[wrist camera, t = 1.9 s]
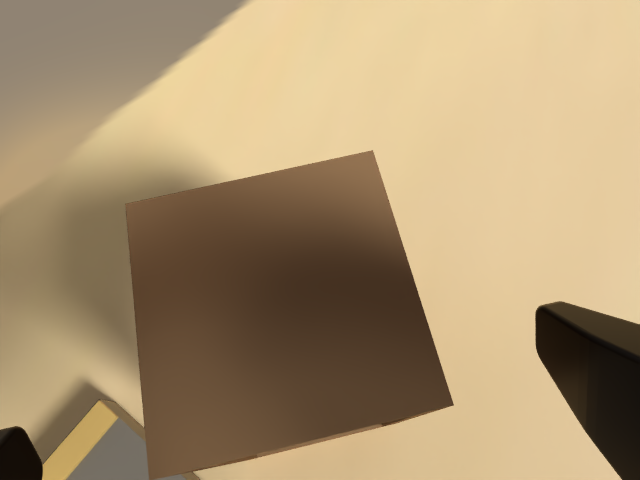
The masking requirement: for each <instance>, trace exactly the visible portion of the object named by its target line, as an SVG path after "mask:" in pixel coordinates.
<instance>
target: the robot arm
mask: <svg viewBox="0 0 640 480" xmlns="http://www.w3.org/2000/svg"><path fill="white" fill-rule="evenodd" d="M535 321H536V349H537V353H538V355H539V358H540V359H541V361H542V363H543V364H544V366H545V368H546V369H547V371H548V372H549V374H550V376H551V377H552V379H553V381H554V382H555V384H556V385H557V387H558V389H559V390H560V392H561V393H562V395H563V397H564V398H565V400H566V402H567V403H568V405H569V406H570V408H571V410H572V411H573V413H574V415H575V416H576V418H577V419H578V421H579V422H580V424H581V425H582V427H583V429H584V430H585V432H586V433H587V434H588V436H589V437H590V438H591V440H592V441H593V442H594V444H595V445H596V446H597V448H598V449H599V450H600V452H601V453H602V454H603V455H604V457H605V458H606V459H607V461H608V462H609V463H610V465H611V466H612V467H613V468H614V470H615V471H616V472H617V474H618V475H619V476H620V478H621V479H622V480H640V324H636V323H633V322H630V321H626V320H623V319H619V318H616V317H613V316H609V315H606V314H603V313H599V312H596V311H592V310H589V309H586V308H582V307H579V306H575V305H572V304H569V303H565V302H561V301H558V302H554V303H549V304H545V305H541V306H539V307H538V308H537V310H536V315H535ZM42 477H43V466H42V462H41V459H40V457H39V455H38V454H37V452H36V450H35V448H34V446H33V444H32V442H31V441H30V439H29V437H28V435H27V433H26V432H25V430H24V429H23V428H21V427H18V426H15V427H10V428H6V429H1V430H0V480H42Z"/></svg>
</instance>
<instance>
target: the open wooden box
mask: <svg viewBox="0 0 640 480" xmlns="http://www.w3.org/2000/svg"><path fill="white" fill-rule="evenodd" d="M126 216H127V227H128V239H129V251H130V263H131V274H132V286H133V298H134V310H135V321H136V333H137V345H138V356H139V368H140V380H141V392H142V403H143V415H144V427H145V439H146V450H147V462H148V474H149V480H154V479H159V478H164V477H169V476H174V475H178V474H183V473H188V472H193V471H198V470H203V469H208V468H212V467H217V466H222V465H227V464H232V463H237V462H241V461H246V460H250V459H254V458H258V457H262V456H266V455H270V454H274V453H278V452H283V451H287V450H291V449H295V448H299V447H303V446H307V445H311V444H315V443H319V442H323V441H327V440H331V439H335V438H339V437H343V436H347V435H351V434H355V433H359V432H363V431H367V430H371V429H375V428H379V427H383V426H387V425H391V424H395V423H399V422H402V421H405V420H408V419H411V418H415V417H418V416H421V415H424V414H427V413H430V412H434V411H437V410H440V409H443V408H446V407H450V406H453V405H454V404H453V401H452V398H451V395H450V392H449V389H448V386H447V382H446V379H445V376H444V373H443V370H442V367H441V364H440V360H439V357H438V354H437V351H436V348H435V345H434V341H433V338H432V335H431V332H430V329H429V326H428V323H427V319H426V316H425V313H424V310H423V307H422V304H421V301H420V297H419V294H418V291H417V288H416V285H415V282H414V278H413V275H412V272H411V269H410V266H409V263H408V260H407V256H406V253H405V250H404V247H403V244H402V241H401V238H400V234H399V231H398V228H397V225H396V222H395V219H394V216H393V212H392V209H391V206H390V203H389V200H388V197H387V193H386V190H385V187H384V184H383V181H382V178H381V175H380V171H379V168H378V165H377V162H376V159H375V156H374V153H373V150H372V151H368V152H363V153H358V154H354V155H349V156H345V157H340V158H335V159H331V160H326V161H321V162H317V163H312V164H308V165H303V166H298V167H294V168H289V169H284V170H280V171H275V172H271V173H266V174H261V175H257V176H252V177H247V178H243V179H238V180H234V181H229V182H224V183H220V184H215V185H211V186H206V187H201V188H197V189H192V190H187V191H183V192H178V193H174V194H169V195H164V196H160V197H155V198H150V199H146V200H141V201H137V202H132V203H127V204H126Z"/></svg>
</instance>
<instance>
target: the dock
mask: <svg viewBox="0 0 640 480" xmlns="http://www.w3.org/2000/svg"><path fill="white" fill-rule="evenodd" d="M42 466H43V477H42V480H149V474H148V462H147V450H146V439H145V429H144V428H143V427H142V426H141V425H140V424H139V423H138V422H137V421H135V420H134V419H133V418H132V417H131V416H130V415H129V414H128V413H127V412H126V411H125V410H123V409H122V408H121V407H120V406H119V405H118V404H117V403H116V402H112V401H106V400H101V399H99V400H98V401H97V403H96V404H95V405H94V406H93V407H92V408H91V409H90V411H89V412H88V413H87V414H86V415H85V416H84V417H83V419H82V420H81V421H80V422H79V423H78V424H77V426H76V427H75V428H74V429H73V430H72V431H71V432H70V434H69V435H68V436H67V437H66V438H65V439H64V440H63V442H62V443H61V444H60V445H59V446H58V447H57V448H56V450H55V451H54V452H53V453H52V454H51V455H50V456H49V458H48V459H47V460H46V461H45V462H44V463H43V465H42ZM154 480H200V479H199V478H198V477H197V476H196V475H195V474H194V473H192V472H188V473H183V474H178V475H174V476H169V477H164V478H159V479H154Z"/></svg>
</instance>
